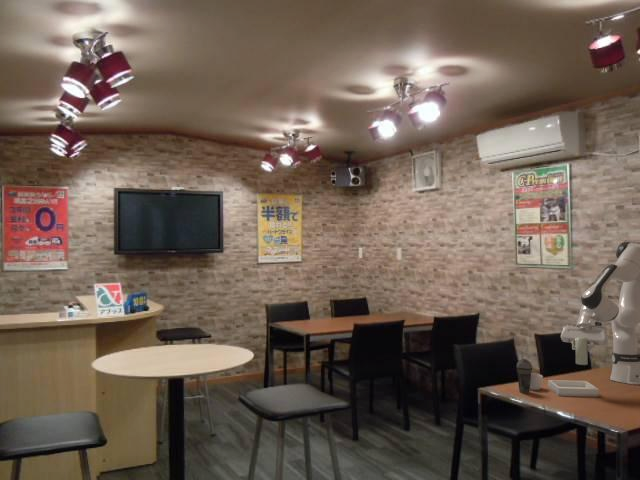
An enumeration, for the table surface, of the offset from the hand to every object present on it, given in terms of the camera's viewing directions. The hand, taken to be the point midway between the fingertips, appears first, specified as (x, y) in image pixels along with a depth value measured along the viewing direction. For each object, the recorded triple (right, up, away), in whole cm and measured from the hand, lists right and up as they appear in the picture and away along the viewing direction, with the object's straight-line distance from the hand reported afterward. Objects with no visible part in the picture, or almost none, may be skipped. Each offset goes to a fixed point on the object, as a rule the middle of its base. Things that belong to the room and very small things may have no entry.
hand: (581, 349), depth 257 cm
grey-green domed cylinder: (0, -7, 0) cm, 7 cm away
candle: (-18, -21, +12) cm, 30 cm away
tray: (-1, -21, +5) cm, 22 cm away
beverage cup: (-25, -21, +5) cm, 33 cm away
